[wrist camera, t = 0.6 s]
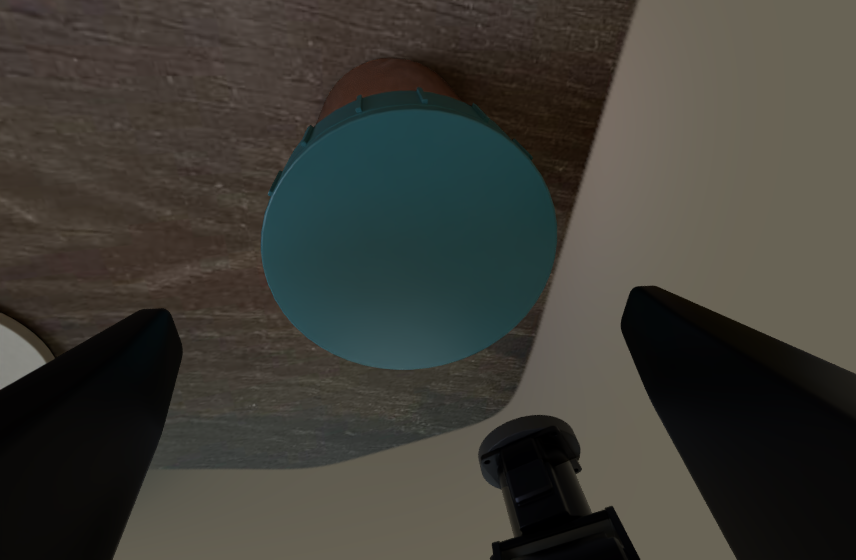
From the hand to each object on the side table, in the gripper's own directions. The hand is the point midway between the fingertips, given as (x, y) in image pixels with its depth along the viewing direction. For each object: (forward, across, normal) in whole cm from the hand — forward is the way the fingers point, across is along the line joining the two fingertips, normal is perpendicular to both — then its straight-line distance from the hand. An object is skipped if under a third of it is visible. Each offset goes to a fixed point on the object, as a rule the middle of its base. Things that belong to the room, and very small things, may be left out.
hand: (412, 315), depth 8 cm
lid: (+2, 0, 0) cm, 2 cm away
